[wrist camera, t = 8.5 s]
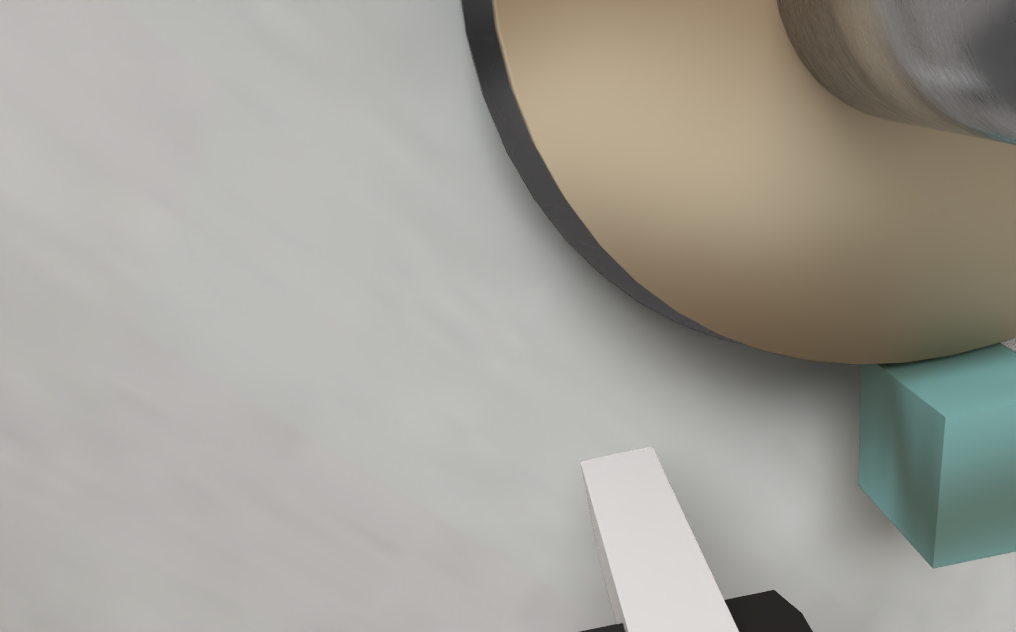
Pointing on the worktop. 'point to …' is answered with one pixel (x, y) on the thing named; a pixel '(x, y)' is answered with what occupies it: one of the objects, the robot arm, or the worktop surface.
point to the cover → (914, 60)
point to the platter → (796, 231)
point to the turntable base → (534, 168)
